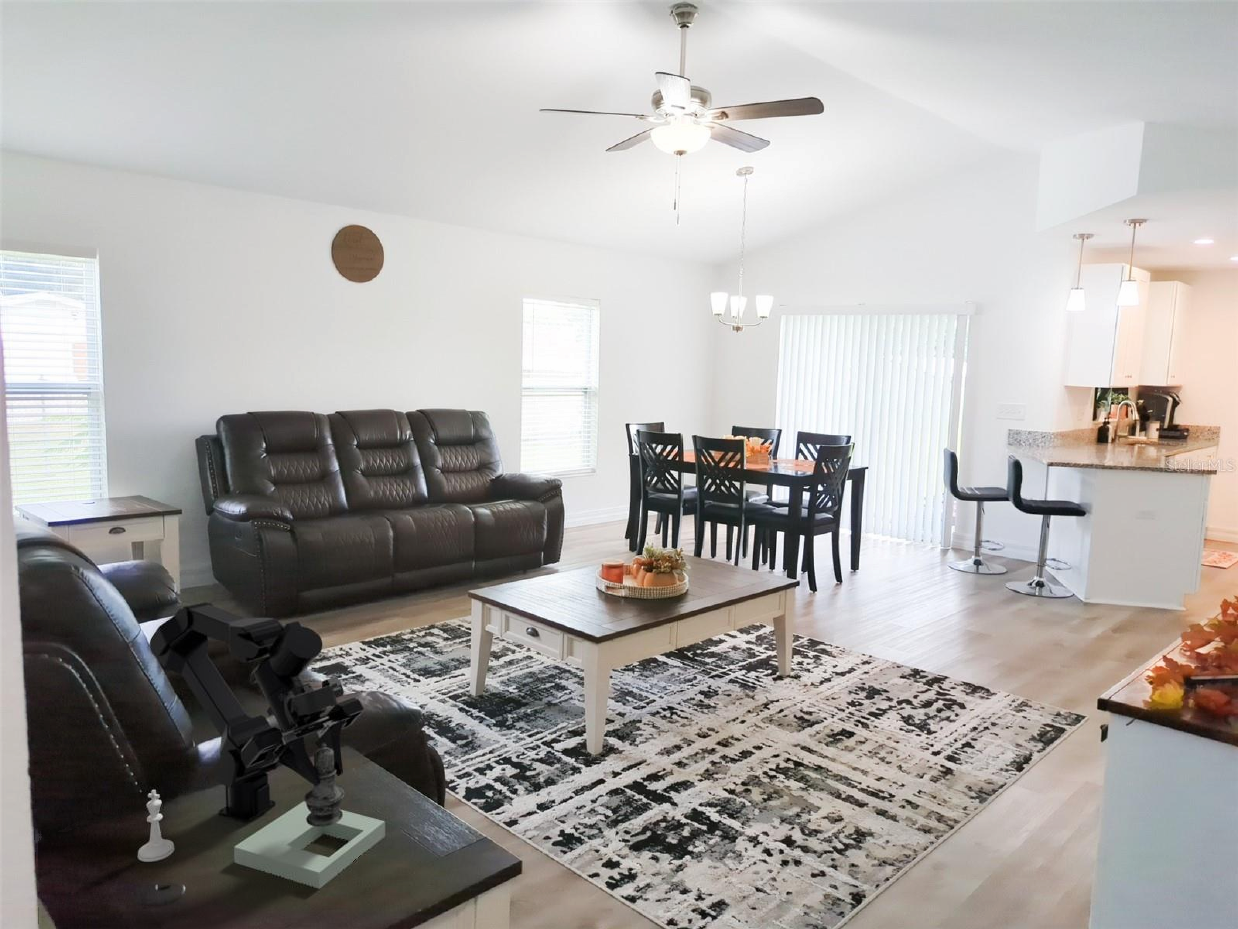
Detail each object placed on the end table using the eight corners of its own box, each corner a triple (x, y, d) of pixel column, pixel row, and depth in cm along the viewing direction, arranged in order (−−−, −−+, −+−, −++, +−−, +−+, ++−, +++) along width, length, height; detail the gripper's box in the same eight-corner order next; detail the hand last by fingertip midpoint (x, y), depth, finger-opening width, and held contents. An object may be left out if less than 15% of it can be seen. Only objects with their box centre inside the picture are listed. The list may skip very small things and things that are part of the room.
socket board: (234, 862, 128) (234, 847, 127) (305, 814, 141) (305, 800, 141) (319, 889, 122) (319, 872, 121) (385, 836, 136) (384, 821, 135)
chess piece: (158, 864, 127) (155, 800, 126) (130, 859, 128) (127, 796, 127) (181, 846, 132) (179, 784, 130) (154, 841, 133) (151, 781, 131)
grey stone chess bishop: (352, 817, 130) (351, 743, 129) (315, 832, 126) (314, 755, 124) (332, 803, 134) (332, 731, 133) (297, 817, 130) (295, 742, 128)
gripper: (250, 683, 122) (298, 779, 117) (357, 649, 137) (403, 733, 132) (220, 720, 127) (265, 814, 122) (327, 683, 142) (370, 766, 138)
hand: (329, 779), depth 128 cm, fingers closed on grey stone chess bishop, 4 cm apart
